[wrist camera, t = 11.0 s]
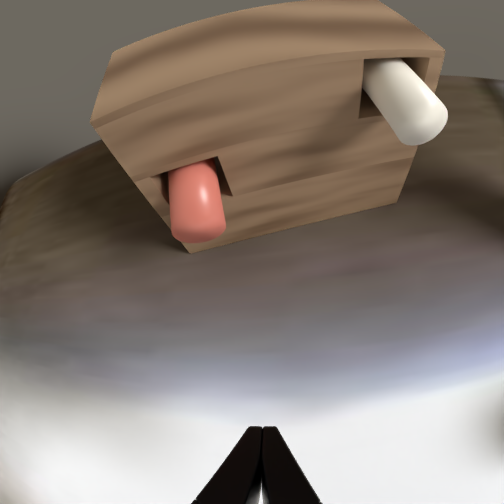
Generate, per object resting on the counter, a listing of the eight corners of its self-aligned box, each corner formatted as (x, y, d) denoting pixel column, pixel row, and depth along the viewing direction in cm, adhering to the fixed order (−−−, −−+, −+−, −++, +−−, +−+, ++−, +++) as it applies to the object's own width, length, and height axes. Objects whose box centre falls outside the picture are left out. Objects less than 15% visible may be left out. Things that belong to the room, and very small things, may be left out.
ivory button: (438, 142, 13) (454, 99, 10) (391, 149, 13) (403, 102, 11) (380, 69, 16) (384, 31, 14) (339, 73, 16) (339, 33, 14)
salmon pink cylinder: (231, 235, 18) (218, 207, 15) (182, 247, 18) (162, 223, 15) (215, 150, 21) (204, 120, 18) (176, 162, 21) (160, 134, 18)
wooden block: (396, 202, 24) (445, 50, 11) (190, 253, 25) (89, 122, 12) (361, 137, 28) (374, -2, 14) (182, 180, 29) (113, 51, 15)
